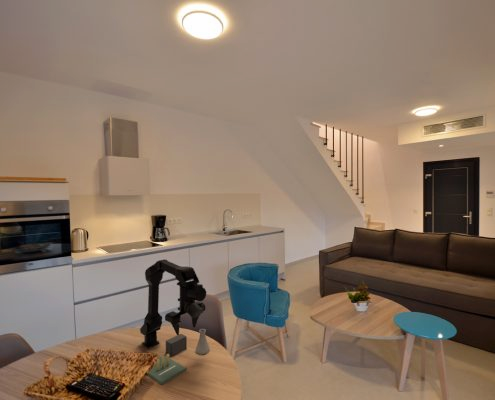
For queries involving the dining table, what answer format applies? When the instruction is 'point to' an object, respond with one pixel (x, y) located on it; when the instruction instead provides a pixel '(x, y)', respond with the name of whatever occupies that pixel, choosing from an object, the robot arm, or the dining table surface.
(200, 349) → the grey flared piece
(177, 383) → the dining table surface
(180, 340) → the block
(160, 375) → the header board
